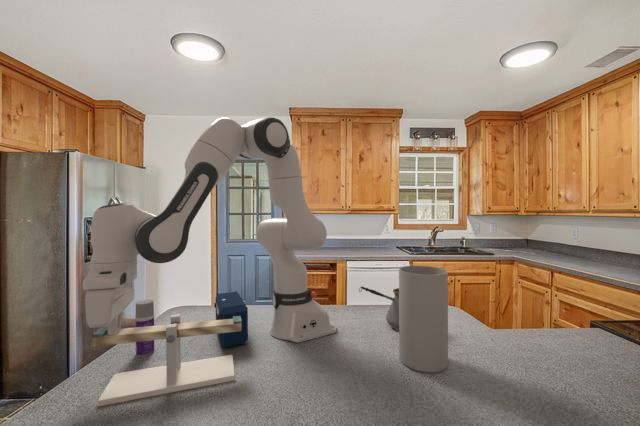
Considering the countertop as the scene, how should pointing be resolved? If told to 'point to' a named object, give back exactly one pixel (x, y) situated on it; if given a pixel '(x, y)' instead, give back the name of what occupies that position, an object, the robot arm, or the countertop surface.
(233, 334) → the radio
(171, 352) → the stand
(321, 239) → the robot arm
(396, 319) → the coffee pot
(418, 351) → the cylinder vase
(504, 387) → the countertop surface
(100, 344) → the beam
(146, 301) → the container
